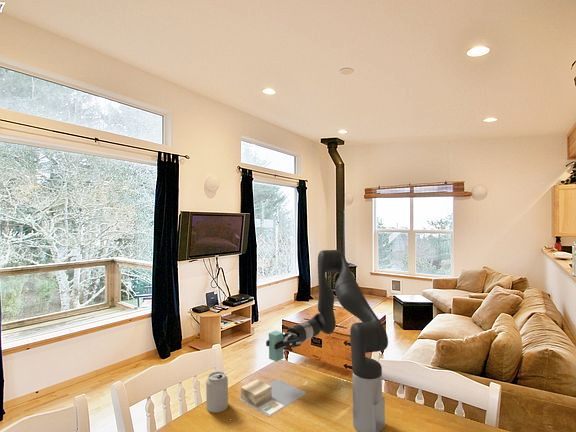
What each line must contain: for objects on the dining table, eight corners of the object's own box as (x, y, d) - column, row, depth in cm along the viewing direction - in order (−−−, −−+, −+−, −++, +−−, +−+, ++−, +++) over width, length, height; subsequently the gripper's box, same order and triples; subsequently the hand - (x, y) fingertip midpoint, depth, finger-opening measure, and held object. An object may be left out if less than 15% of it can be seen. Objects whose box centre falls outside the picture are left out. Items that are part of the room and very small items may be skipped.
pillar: (283, 358, 132) (283, 332, 132) (276, 361, 129) (275, 335, 129) (276, 355, 134) (276, 330, 134) (269, 358, 132) (268, 333, 131)
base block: (271, 397, 124) (271, 386, 124) (255, 406, 118) (255, 395, 118) (257, 389, 130) (257, 379, 130) (241, 397, 124) (240, 387, 124)
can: (225, 415, 115) (225, 380, 115) (204, 415, 115) (203, 380, 115) (230, 402, 122) (229, 369, 122) (209, 402, 122) (209, 369, 122)
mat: (307, 394, 127) (307, 392, 127) (269, 419, 112) (269, 416, 112) (277, 380, 138) (277, 378, 138) (238, 401, 123) (238, 398, 123)
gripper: (287, 320, 147) (258, 331, 134) (313, 328, 137) (283, 340, 124) (288, 337, 147) (258, 350, 134) (313, 346, 137) (284, 360, 125)
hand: (271, 345), depth 130 cm, fingers closed on pillar, 4 cm apart
